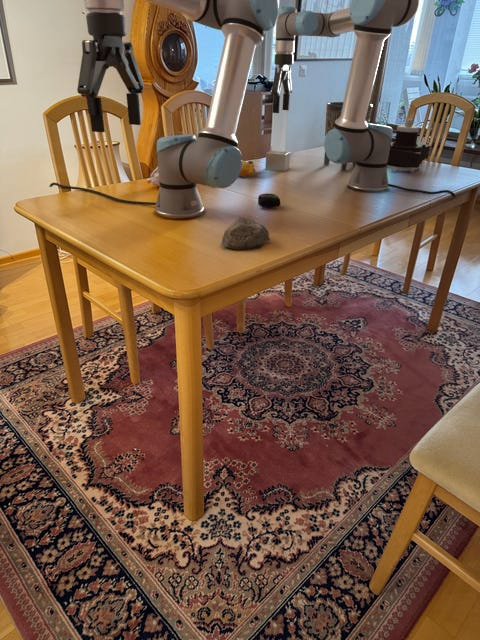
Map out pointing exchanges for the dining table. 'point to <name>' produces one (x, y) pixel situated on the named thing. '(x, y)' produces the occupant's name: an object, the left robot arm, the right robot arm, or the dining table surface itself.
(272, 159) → the block
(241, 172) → the toy
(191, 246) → the dining table surface
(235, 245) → the rock
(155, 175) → the figurine
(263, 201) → the tape measure
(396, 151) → the mechanical component
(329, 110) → the planter
